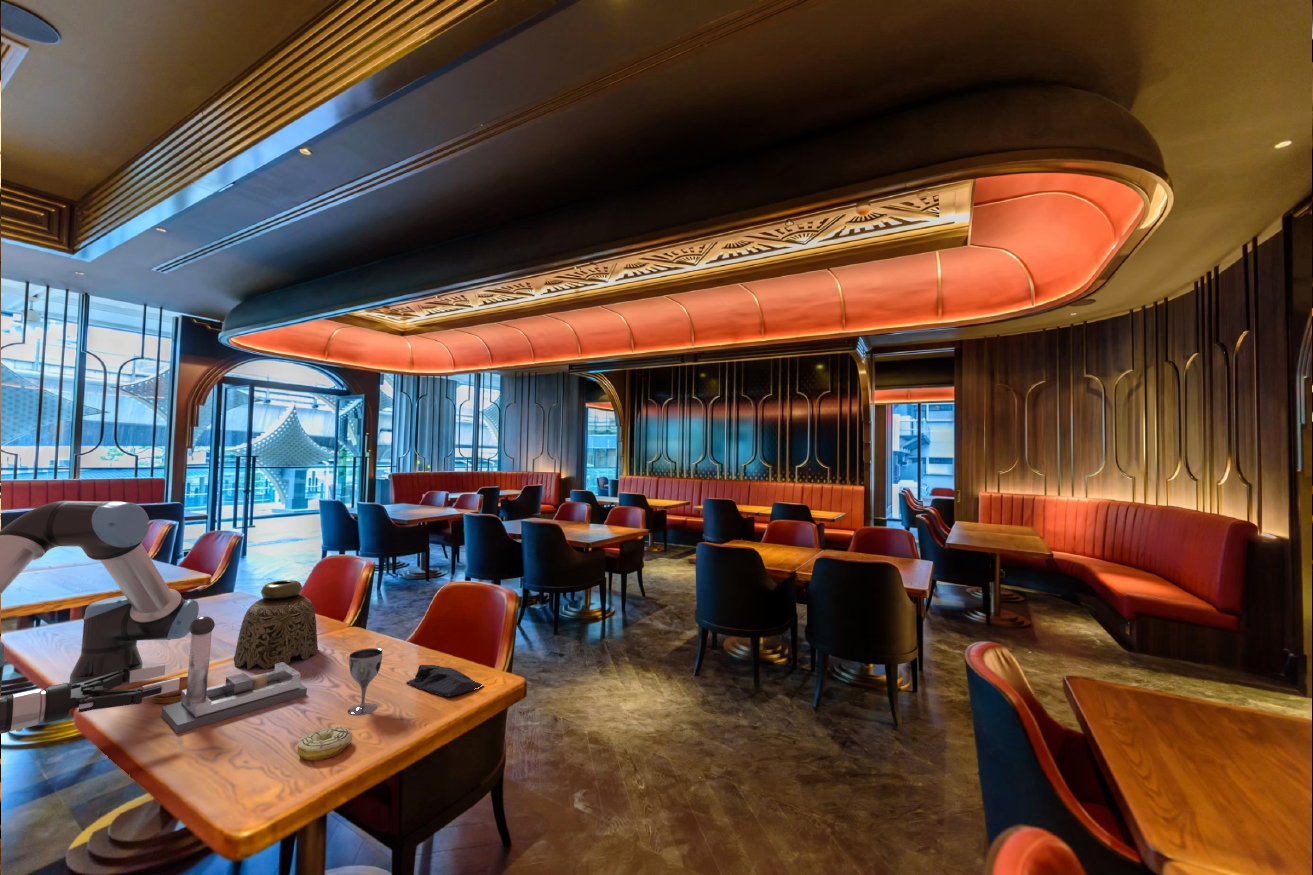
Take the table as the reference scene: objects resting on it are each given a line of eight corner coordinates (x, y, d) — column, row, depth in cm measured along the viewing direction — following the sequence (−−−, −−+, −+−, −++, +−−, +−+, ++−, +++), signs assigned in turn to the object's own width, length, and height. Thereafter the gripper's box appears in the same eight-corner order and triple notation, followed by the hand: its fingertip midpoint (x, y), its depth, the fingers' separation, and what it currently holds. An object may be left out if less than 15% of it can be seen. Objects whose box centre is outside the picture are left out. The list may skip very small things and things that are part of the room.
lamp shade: (293, 640, 192) (298, 572, 194) (332, 652, 182) (337, 580, 184) (218, 661, 171) (224, 584, 173) (257, 675, 161) (263, 594, 163)
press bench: (161, 714, 135) (161, 706, 135) (285, 680, 158) (286, 674, 158) (176, 733, 127) (177, 725, 127) (306, 695, 149) (306, 687, 149)
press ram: (175, 703, 137) (183, 613, 138) (281, 675, 156) (287, 597, 158) (189, 718, 129) (198, 623, 131) (299, 687, 149) (305, 605, 150)
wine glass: (341, 717, 137) (345, 659, 138) (350, 703, 145) (354, 649, 146) (374, 714, 139) (378, 657, 140) (382, 701, 147) (385, 647, 148)
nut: (246, 691, 146) (247, 677, 146) (263, 687, 149) (264, 672, 149) (251, 695, 143) (252, 681, 144) (268, 691, 147) (269, 676, 147)
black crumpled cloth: (442, 705, 147) (443, 688, 147) (402, 684, 160) (403, 668, 160) (488, 688, 159) (489, 672, 160) (447, 669, 172) (448, 655, 173)
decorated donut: (361, 745, 125) (362, 728, 125) (317, 768, 115) (319, 750, 115) (331, 735, 129) (332, 719, 129) (286, 756, 119) (287, 739, 119)
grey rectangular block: (224, 695, 143) (226, 677, 143) (242, 690, 146) (243, 672, 146) (233, 703, 139) (234, 683, 139) (251, 698, 142) (252, 679, 142)
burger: (187, 703, 142) (188, 685, 142) (144, 707, 139) (145, 689, 140) (205, 688, 152) (206, 672, 152) (165, 692, 149) (166, 675, 149)
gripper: (34, 706, 121) (158, 678, 138) (47, 742, 106) (183, 706, 124) (37, 673, 121) (160, 649, 139) (50, 705, 107) (186, 674, 124)
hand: (171, 676), depth 131 cm, fingers open, 13 cm apart
